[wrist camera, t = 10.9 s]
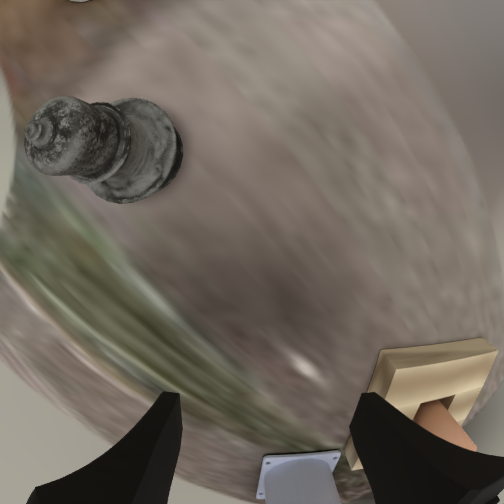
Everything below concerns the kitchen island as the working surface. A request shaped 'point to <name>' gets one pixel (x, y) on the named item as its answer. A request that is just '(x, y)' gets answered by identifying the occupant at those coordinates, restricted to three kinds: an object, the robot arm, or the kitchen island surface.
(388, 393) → the socket block
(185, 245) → the kitchen island surface
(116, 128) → the chess piece
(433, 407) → the peg
